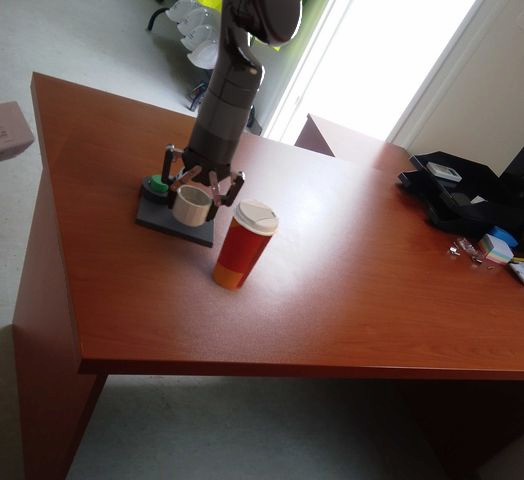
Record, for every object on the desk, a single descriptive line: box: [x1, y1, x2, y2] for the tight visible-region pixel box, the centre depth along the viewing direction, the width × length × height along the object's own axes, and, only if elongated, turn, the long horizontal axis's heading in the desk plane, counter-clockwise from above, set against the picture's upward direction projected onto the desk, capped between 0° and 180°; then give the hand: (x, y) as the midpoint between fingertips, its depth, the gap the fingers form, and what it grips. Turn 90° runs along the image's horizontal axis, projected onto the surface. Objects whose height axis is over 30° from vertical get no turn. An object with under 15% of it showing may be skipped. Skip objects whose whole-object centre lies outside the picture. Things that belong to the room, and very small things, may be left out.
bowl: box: [171, 184, 213, 227], centre depth 82 cm, size 6×6×4 cm
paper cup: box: [212, 198, 280, 291], centre depth 75 cm, size 8×8×14 cm
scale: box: [134, 175, 215, 249], centre depth 85 cm, size 15×15×3 cm
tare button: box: [150, 174, 168, 193], centre depth 84 cm, size 3×3×2 cm
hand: (189, 212), depth 82 cm, fingers closed on bowl, 6 cm apart
